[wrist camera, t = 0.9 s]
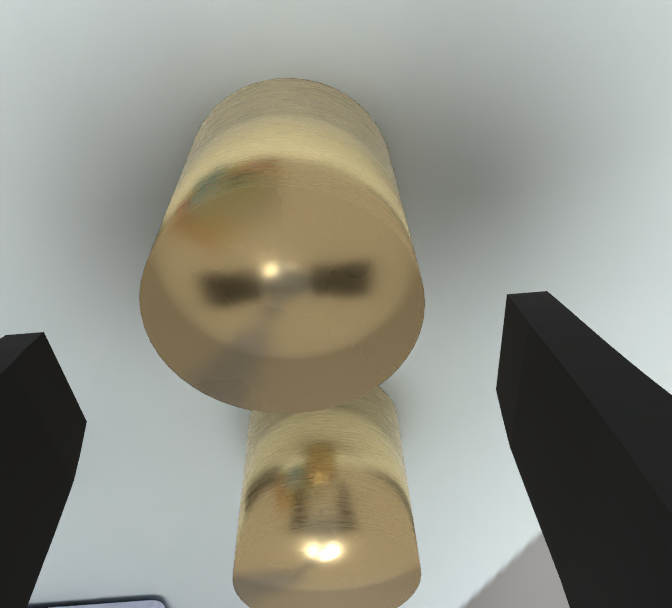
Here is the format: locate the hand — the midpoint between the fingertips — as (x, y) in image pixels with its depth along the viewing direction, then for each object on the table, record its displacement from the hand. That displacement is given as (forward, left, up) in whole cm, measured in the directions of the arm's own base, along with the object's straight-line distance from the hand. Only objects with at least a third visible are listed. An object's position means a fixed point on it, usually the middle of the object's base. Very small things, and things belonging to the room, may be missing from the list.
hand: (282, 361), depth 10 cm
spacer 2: (-9, 0, -7) cm, 11 cm away
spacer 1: (0, 0, -7) cm, 7 cm away
